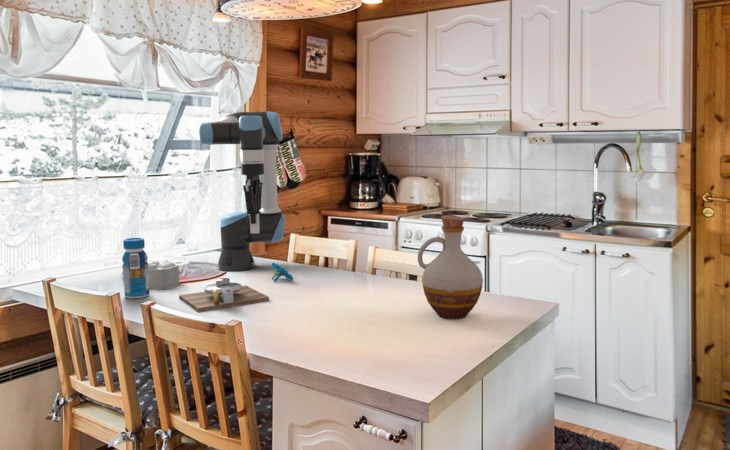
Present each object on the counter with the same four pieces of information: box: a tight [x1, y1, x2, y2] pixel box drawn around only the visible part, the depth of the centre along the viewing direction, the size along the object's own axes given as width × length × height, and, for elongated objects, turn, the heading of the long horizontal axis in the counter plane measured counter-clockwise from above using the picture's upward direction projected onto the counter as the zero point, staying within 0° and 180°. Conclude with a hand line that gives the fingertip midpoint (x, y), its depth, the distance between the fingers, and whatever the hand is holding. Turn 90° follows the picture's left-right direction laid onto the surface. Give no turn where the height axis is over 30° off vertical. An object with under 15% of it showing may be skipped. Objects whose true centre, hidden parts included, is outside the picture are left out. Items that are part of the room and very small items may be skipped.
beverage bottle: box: [121, 237, 151, 300], centre depth 207 cm, size 8×8×20 cm
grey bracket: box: [204, 277, 243, 304], centre depth 199 cm, size 19×12×5 cm, turn 20°
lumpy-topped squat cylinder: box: [147, 260, 180, 290], centre depth 224 cm, size 10×13×9 cm
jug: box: [417, 215, 484, 321], centre depth 179 cm, size 20×18×30 cm
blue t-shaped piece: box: [270, 262, 294, 283], centre depth 228 cm, size 11×6×10 cm
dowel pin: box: [213, 290, 219, 305], centre depth 192 cm, size 2×2×4 cm
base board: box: [178, 285, 270, 313], centre depth 202 cm, size 20×24×3 cm
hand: (255, 232), depth 204 cm, fingers closed
